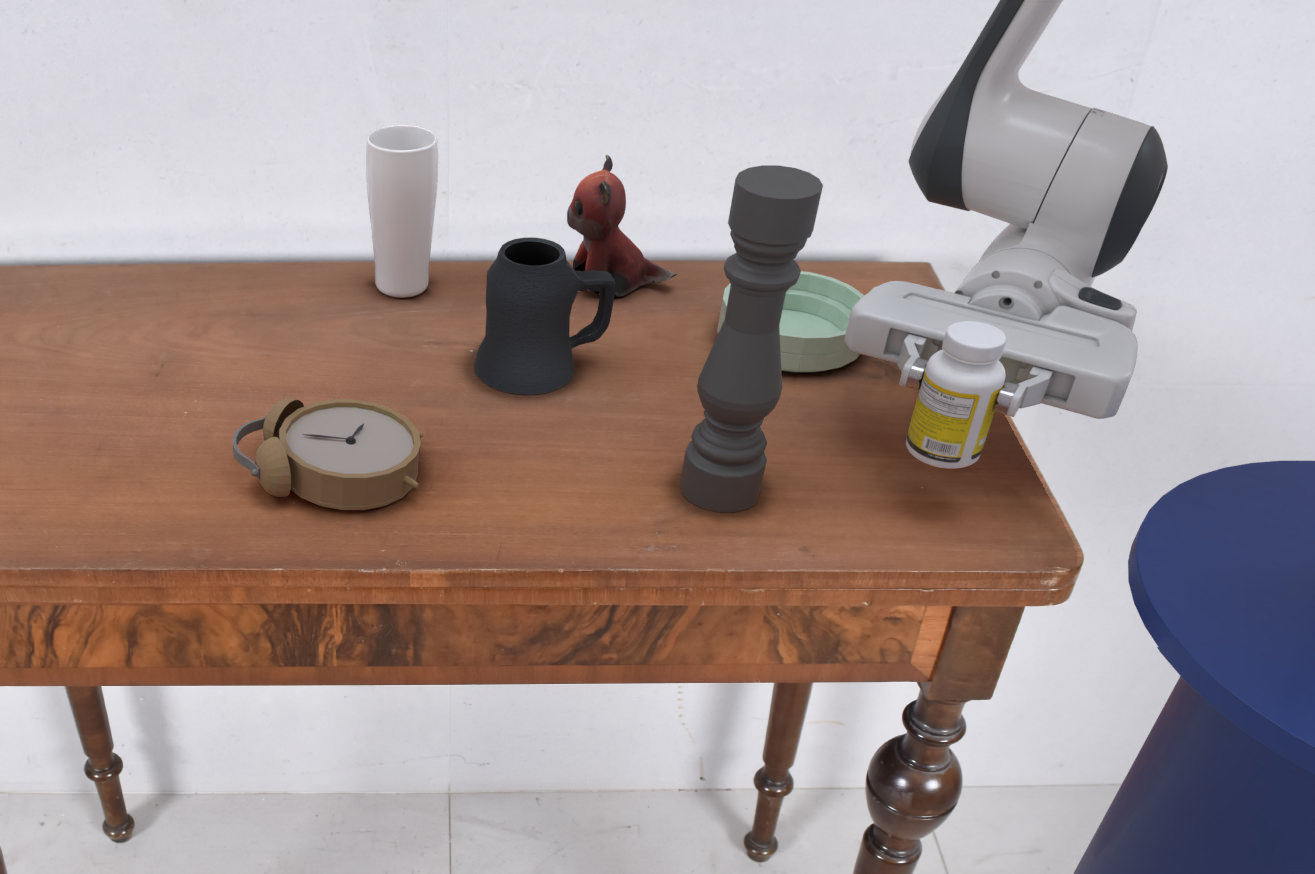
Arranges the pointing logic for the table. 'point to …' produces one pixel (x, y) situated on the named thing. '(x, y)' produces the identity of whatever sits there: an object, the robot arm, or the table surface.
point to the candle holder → (749, 337)
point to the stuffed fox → (608, 234)
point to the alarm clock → (334, 453)
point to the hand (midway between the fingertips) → (958, 392)
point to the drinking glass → (402, 206)
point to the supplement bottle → (958, 396)
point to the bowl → (813, 323)
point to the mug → (536, 317)
